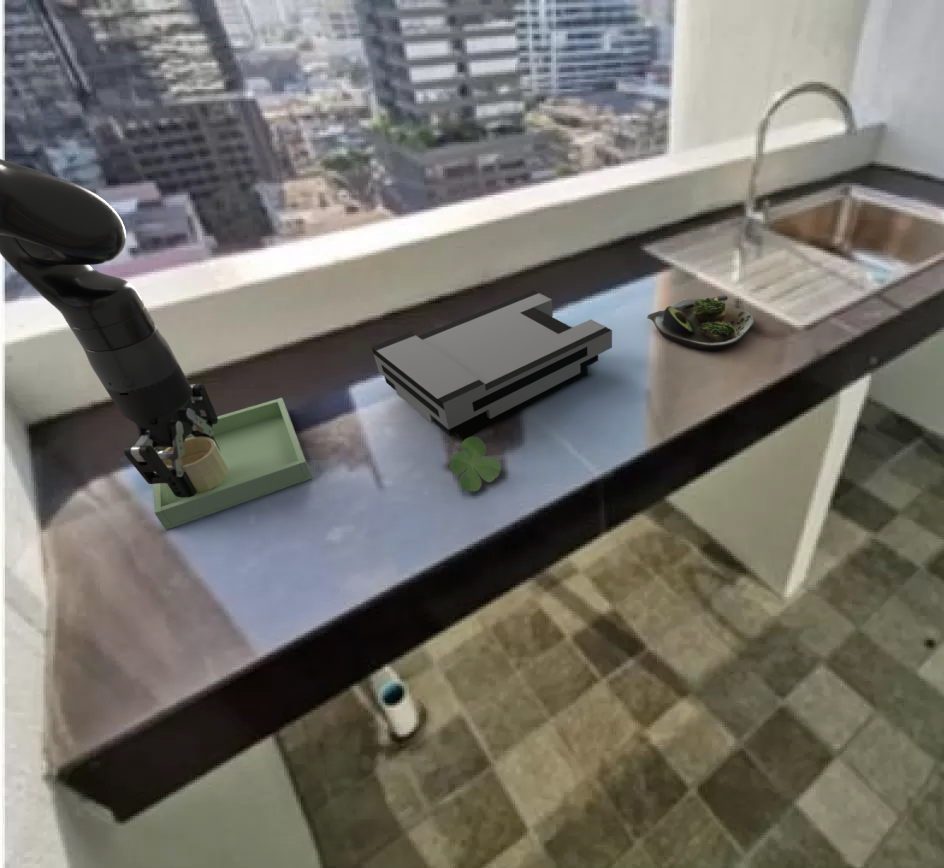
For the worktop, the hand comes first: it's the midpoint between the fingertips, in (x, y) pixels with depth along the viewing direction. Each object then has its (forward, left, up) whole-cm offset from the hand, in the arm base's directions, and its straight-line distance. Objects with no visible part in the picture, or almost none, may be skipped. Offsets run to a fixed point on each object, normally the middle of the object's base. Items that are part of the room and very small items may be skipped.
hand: (201, 476), depth 80 cm
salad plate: (+83, -2, -3) cm, 84 cm away
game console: (+44, +3, -3) cm, 45 cm away
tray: (+3, +3, -2) cm, 6 cm away
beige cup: (0, 0, -1) cm, 1 cm away
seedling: (+31, -17, -3) cm, 36 cm away
